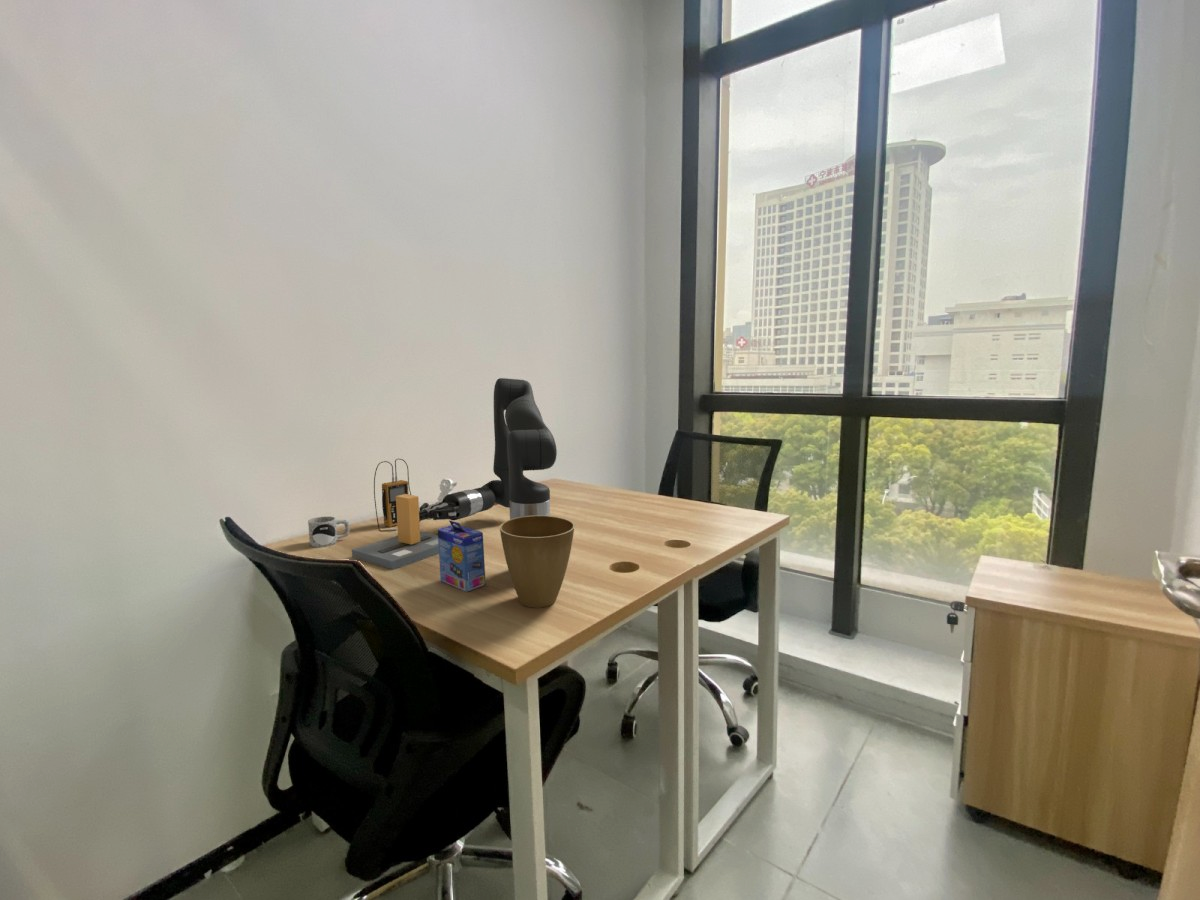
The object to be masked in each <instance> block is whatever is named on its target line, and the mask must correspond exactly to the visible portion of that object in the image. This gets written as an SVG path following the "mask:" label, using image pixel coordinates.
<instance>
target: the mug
mask: <svg viewBox="0 0 1200 900" xmlns="http://www.w3.org/2000/svg"><path fill="white" fill-rule="evenodd" d="M307 524H308V525H307V526H308V535H309V547H312V548H326V547H330V546H334V545H336V544H337V543H338V540H340V539H343V538H345V537H348V536H349V535H350V524H349V521H348V520H346V519H336V517H335V516H328V515H327V516H319V517H318V516H317V517H314V518H313V517H312V518H310V519H308V522H307ZM340 524H343V525H344V528H345V531H344V532H343V533H338V532H337V525H340Z"/></svg>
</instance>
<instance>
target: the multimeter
mask: <svg viewBox="0 0 1200 900" xmlns="http://www.w3.org/2000/svg"><path fill="white" fill-rule="evenodd" d="M398 460H399V461H400V460H401V461H403V462H404V464H405V465H406V469H407V480H402V479H400V480H399V479H398V475H397V474H398V473H397V461H398ZM382 463H388V464H390V466H391V472H392V474H391V476H392V477H391V481H390V482H383V483H382V484H381V505H382V515H383V524H384V526H386V527H389V529H385V530H384V529H383V530H381V528H380V525H379V519H378V518H379V517H378V511H377V502H376V491H375V490H376V489H375V488H376V475H377V474H376V473H377V470H378V468H379V466H380V464H382ZM394 469H395V473H394ZM394 474H395V476H394ZM403 494H408V495H412V492H411V488H410V477H409V465H408V464H407V462H406V460H405V459H403V458H396V459H395V460H394V466H393V464H392V463H391V462H390V461H387V460H384V461H381V462H379V463H378V464H377V465H376V468H375V471H374V477H373V495H374V496H373V498H374V499H373V501H374V505H375V507H374V508H375V513H376V521H377V528H378V531H380V532H392V531H393V532H394V531H398V528H392V527H393V526H397V509H396V496H399V495H403ZM419 522H420V523H421V521H419Z"/></svg>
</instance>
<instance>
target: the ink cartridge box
mask: <svg viewBox="0 0 1200 900" xmlns="http://www.w3.org/2000/svg"><path fill="white" fill-rule="evenodd" d="M448 522H449V523H450V525H449V526H444V527H440V528H438V529H437V535H438V544H439V554H438V556H439V557H438V559H439V575H440V578H439V579H440V581H441V582H442V583H445V584H447V585H449V586H452V587H453V588H457V589H458V590H460V591H462V592H466V593H467V592H470V591H472V590H476V589H478V588H481V587H484V586H486V584H487V583H486V565H485V549H484V533H483V531H480V530H477V529H473V528H469V527H467V526H464V525H461V523H460V522H457V521H454V520H450V519H448Z"/></svg>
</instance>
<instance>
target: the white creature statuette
mask: <svg viewBox="0 0 1200 900" xmlns="http://www.w3.org/2000/svg"><path fill="white" fill-rule="evenodd" d="M457 483H458V482H457V481H453V480H452V479H450V478H448V477H444V478H443V479H441V481H440V484H439V490H440V491H441V492H440V493H439V495H438V497H437V502H442V501H443V499H444V497H445V496H446V495H448V494H452V491H453V490H454V488H455V487H456V486H457Z"/></svg>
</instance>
